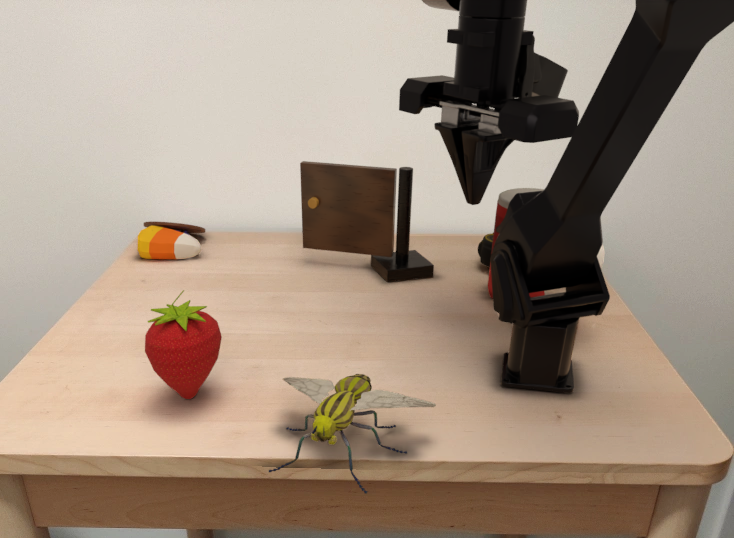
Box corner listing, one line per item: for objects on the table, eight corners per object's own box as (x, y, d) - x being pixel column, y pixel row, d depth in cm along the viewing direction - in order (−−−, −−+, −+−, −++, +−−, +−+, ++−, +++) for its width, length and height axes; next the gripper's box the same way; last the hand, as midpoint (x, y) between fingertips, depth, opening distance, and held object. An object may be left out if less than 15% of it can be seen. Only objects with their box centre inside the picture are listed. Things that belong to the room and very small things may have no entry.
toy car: (135, 219, 97) (134, 232, 97) (196, 224, 96) (195, 236, 97) (155, 228, 105) (154, 239, 105) (211, 231, 104) (211, 243, 105)
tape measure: (541, 267, 95) (546, 237, 93) (514, 281, 91) (519, 250, 88) (494, 255, 98) (498, 226, 96) (466, 268, 94) (469, 238, 92)
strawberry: (240, 384, 68) (231, 277, 63) (199, 424, 63) (184, 310, 57) (183, 374, 70) (169, 268, 64) (138, 411, 64) (117, 299, 58)
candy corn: (133, 261, 95) (193, 270, 94) (130, 239, 93) (191, 247, 92) (152, 242, 100) (210, 250, 99) (149, 220, 98) (208, 228, 97)
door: (393, 254, 93) (397, 168, 87) (390, 259, 91) (393, 171, 85) (305, 245, 95) (302, 160, 89) (300, 250, 94) (297, 164, 88)
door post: (414, 261, 96) (420, 160, 89) (433, 277, 91) (440, 172, 84) (370, 266, 94) (372, 164, 87) (387, 282, 90) (391, 176, 83)
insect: (439, 425, 63) (444, 371, 60) (399, 502, 54) (402, 445, 51) (295, 397, 66) (292, 345, 63) (237, 466, 58) (231, 410, 55)
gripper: (640, 21, 62) (601, 214, 72) (489, 7, 75) (473, 173, 84) (544, 26, 57) (516, 233, 67) (399, 10, 70) (392, 187, 79)
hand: (473, 203), depth 74 cm, fingers closed
